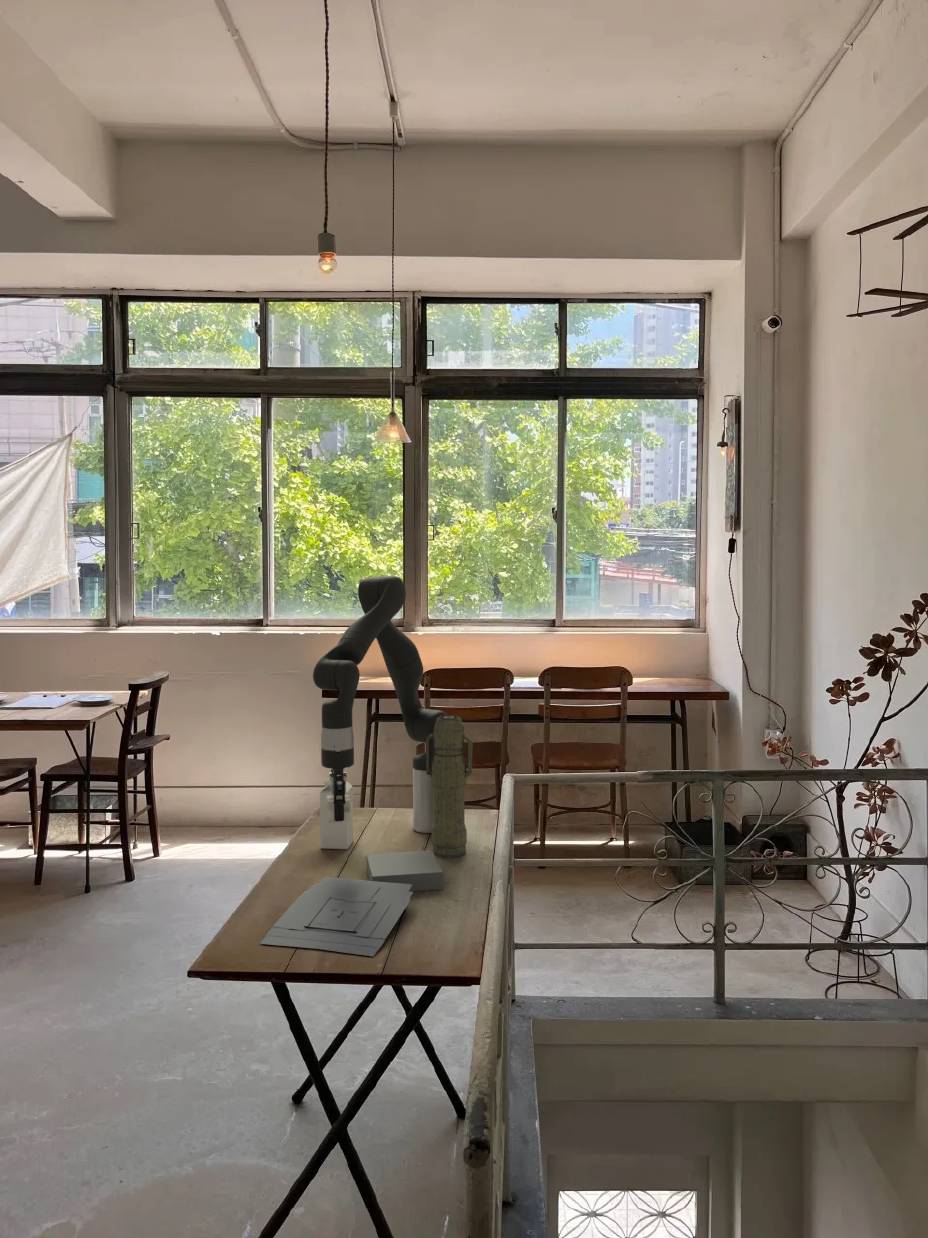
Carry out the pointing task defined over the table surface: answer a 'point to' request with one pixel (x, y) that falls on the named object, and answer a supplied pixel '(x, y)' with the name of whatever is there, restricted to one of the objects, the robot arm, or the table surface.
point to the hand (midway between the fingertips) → (338, 817)
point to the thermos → (449, 785)
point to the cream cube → (331, 809)
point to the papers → (342, 916)
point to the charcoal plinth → (406, 869)
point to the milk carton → (337, 832)
